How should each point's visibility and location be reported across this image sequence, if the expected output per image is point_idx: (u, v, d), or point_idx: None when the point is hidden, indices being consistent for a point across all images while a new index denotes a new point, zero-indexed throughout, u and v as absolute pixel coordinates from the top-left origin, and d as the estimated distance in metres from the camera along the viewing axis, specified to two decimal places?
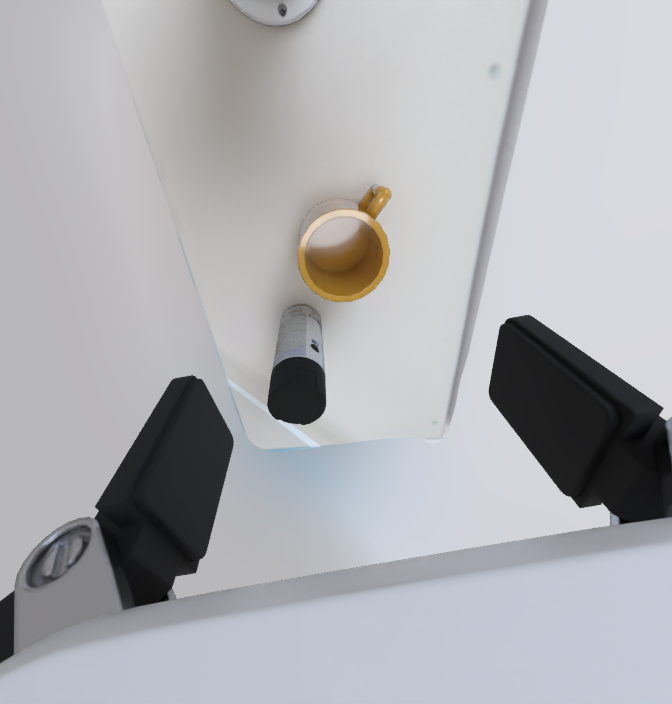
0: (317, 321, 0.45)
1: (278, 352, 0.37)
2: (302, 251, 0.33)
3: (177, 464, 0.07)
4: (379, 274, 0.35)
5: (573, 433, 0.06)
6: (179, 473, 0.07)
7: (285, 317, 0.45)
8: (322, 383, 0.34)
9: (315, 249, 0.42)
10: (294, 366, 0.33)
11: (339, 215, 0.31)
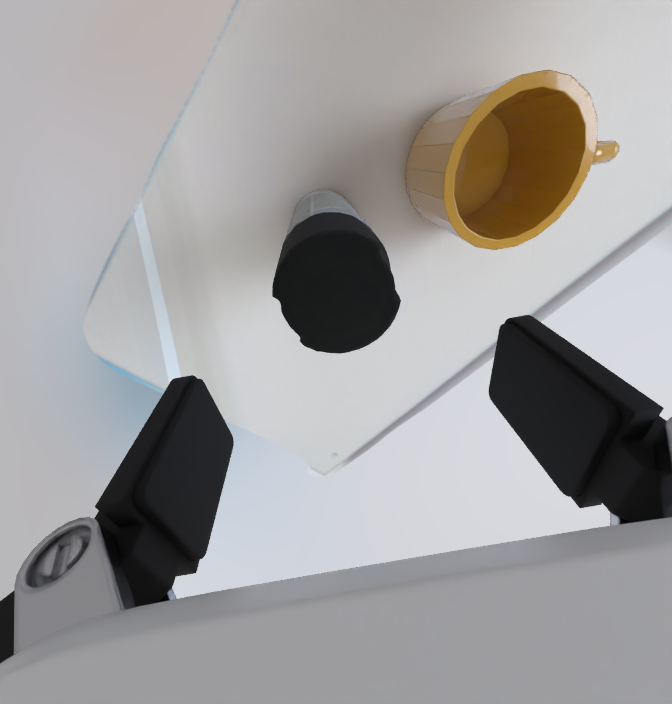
0: None
1: (326, 205, 0.19)
2: (500, 96, 0.18)
3: (177, 464, 0.07)
4: (519, 236, 0.23)
5: (573, 433, 0.06)
6: (179, 473, 0.07)
7: (326, 192, 0.27)
8: None
9: None
10: (374, 234, 0.16)
11: (580, 105, 0.19)
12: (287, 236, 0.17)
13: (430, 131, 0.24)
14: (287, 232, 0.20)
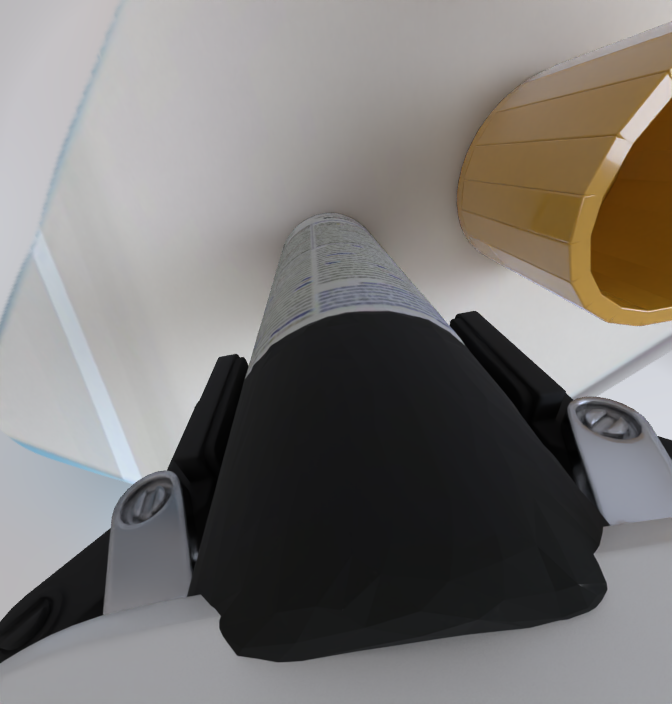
0: None
1: (347, 272, 0.09)
2: None
3: None
4: None
5: None
6: None
7: (336, 219, 0.16)
8: None
9: None
10: (506, 397, 0.05)
11: None
12: (252, 370, 0.07)
13: (516, 118, 0.14)
14: (262, 321, 0.09)
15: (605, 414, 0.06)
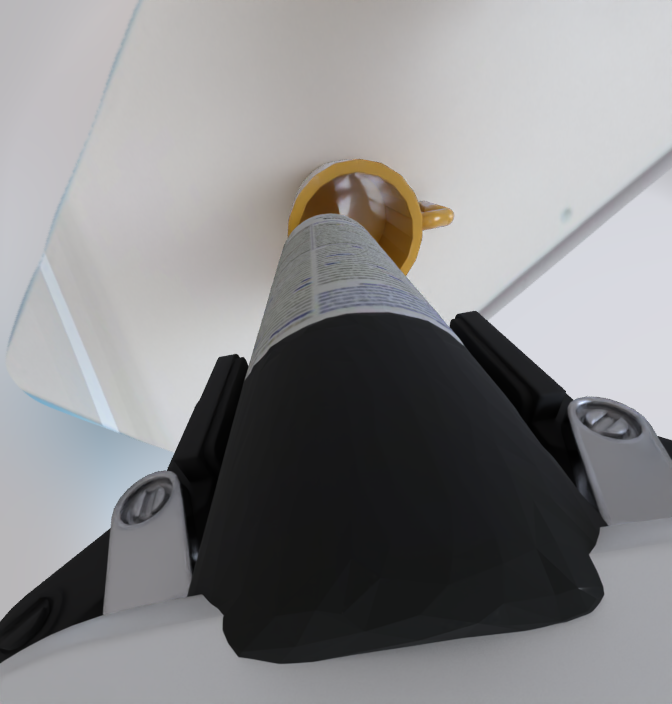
0: None
1: (347, 272, 0.09)
2: (320, 180, 0.21)
3: None
4: None
5: None
6: None
7: (335, 219, 0.16)
8: None
9: (313, 206, 0.30)
10: (506, 398, 0.05)
11: (397, 185, 0.21)
12: (252, 371, 0.07)
13: None
14: (262, 322, 0.09)
15: (605, 414, 0.06)
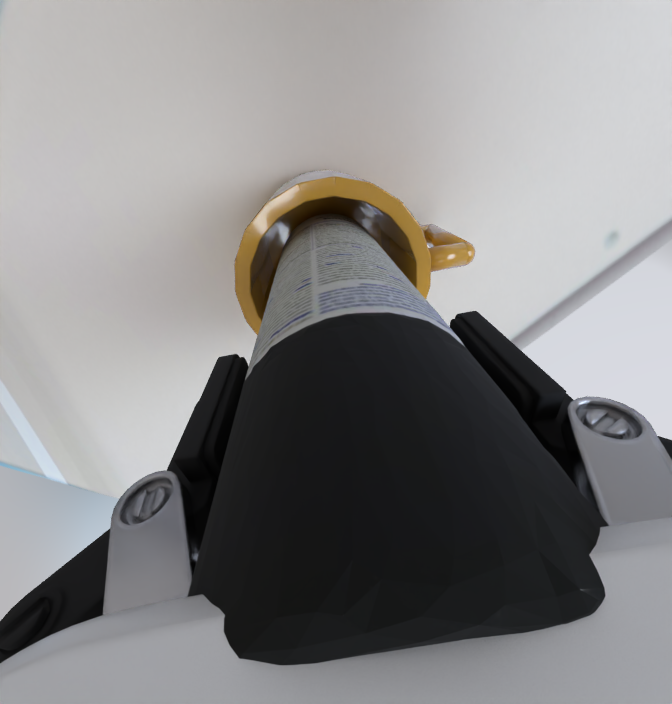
0: None
1: (347, 273, 0.09)
2: (278, 208, 0.14)
3: None
4: None
5: None
6: None
7: (335, 219, 0.16)
8: None
9: (287, 229, 0.23)
10: (506, 398, 0.05)
11: (394, 215, 0.14)
12: (252, 372, 0.07)
13: None
14: (262, 323, 0.09)
15: (606, 414, 0.06)
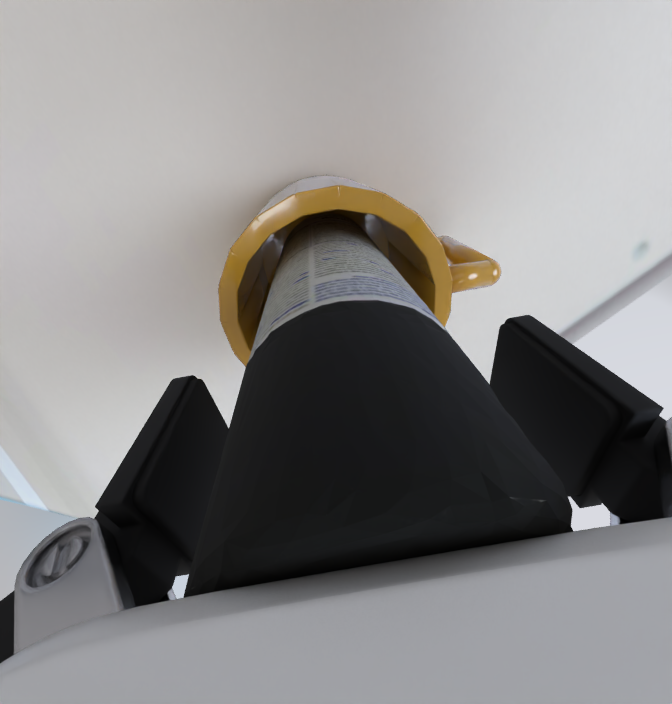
0: None
1: (341, 266, 0.09)
2: (270, 224, 0.11)
3: (177, 464, 0.07)
4: None
5: (573, 433, 0.06)
6: (179, 473, 0.07)
7: (333, 219, 0.17)
8: None
9: (283, 241, 0.20)
10: (479, 373, 0.06)
11: (410, 231, 0.12)
12: (254, 354, 0.07)
13: None
14: (263, 314, 0.10)
15: None
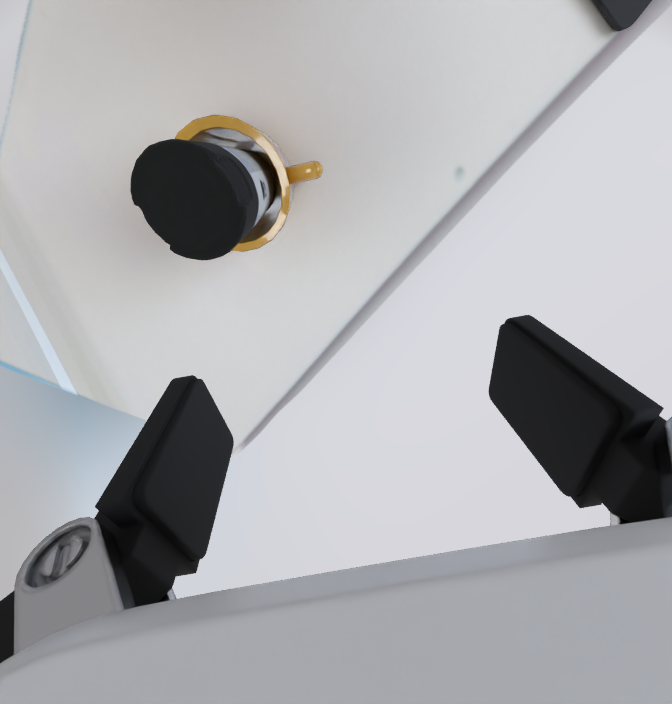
0: (273, 191, 0.32)
1: None
2: (185, 135, 0.24)
3: (177, 464, 0.07)
4: (258, 240, 0.29)
5: (573, 433, 0.06)
6: (179, 473, 0.07)
7: None
8: (250, 217, 0.20)
9: None
10: (228, 155, 0.19)
11: (254, 138, 0.24)
12: None
13: None
14: None
15: None
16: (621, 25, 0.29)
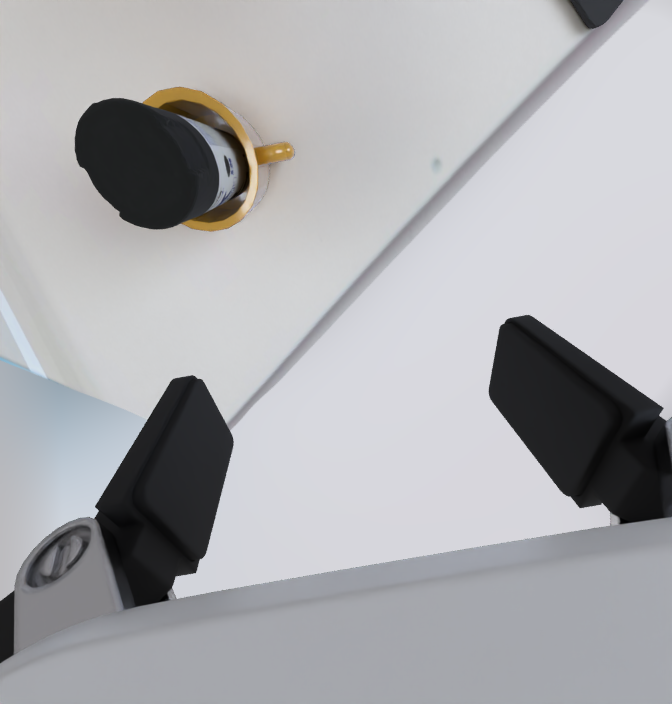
0: (246, 172, 0.31)
1: None
2: None
3: (177, 464, 0.07)
4: (226, 220, 0.28)
5: (573, 433, 0.06)
6: (179, 473, 0.07)
7: None
8: (206, 188, 0.19)
9: None
10: (182, 123, 0.18)
11: (221, 113, 0.24)
12: None
13: None
14: None
15: None
16: (594, 22, 0.30)
